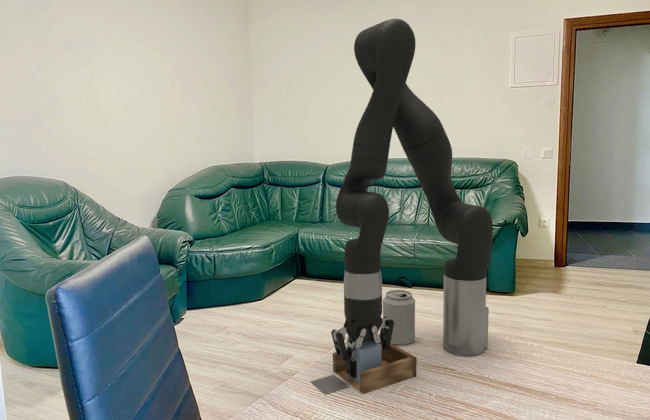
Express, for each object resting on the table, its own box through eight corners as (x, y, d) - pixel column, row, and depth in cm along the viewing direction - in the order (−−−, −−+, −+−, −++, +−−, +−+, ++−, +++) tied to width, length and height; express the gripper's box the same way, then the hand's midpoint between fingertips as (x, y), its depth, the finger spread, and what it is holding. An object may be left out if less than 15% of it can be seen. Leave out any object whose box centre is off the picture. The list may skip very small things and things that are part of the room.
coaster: (333, 377, 103) (333, 374, 103) (349, 389, 98) (349, 386, 97) (310, 384, 100) (310, 381, 100) (325, 397, 95) (325, 394, 95)
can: (414, 348, 115) (414, 298, 113) (381, 346, 117) (381, 297, 115) (415, 336, 122) (415, 288, 121) (384, 334, 124) (384, 287, 122)
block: (367, 368, 105) (366, 336, 104) (381, 378, 101) (381, 345, 100) (347, 374, 102) (346, 342, 101) (360, 384, 98) (360, 351, 97)
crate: (383, 358, 111) (383, 339, 110) (416, 378, 101) (416, 357, 101) (333, 373, 104) (332, 353, 104) (362, 396, 95) (362, 374, 94)
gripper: (381, 281, 106) (381, 357, 108) (321, 293, 98) (323, 374, 101) (403, 290, 99) (403, 371, 102) (342, 304, 92) (343, 390, 95)
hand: (363, 372), depth 101 cm, fingers closed on block, 5 cm apart
